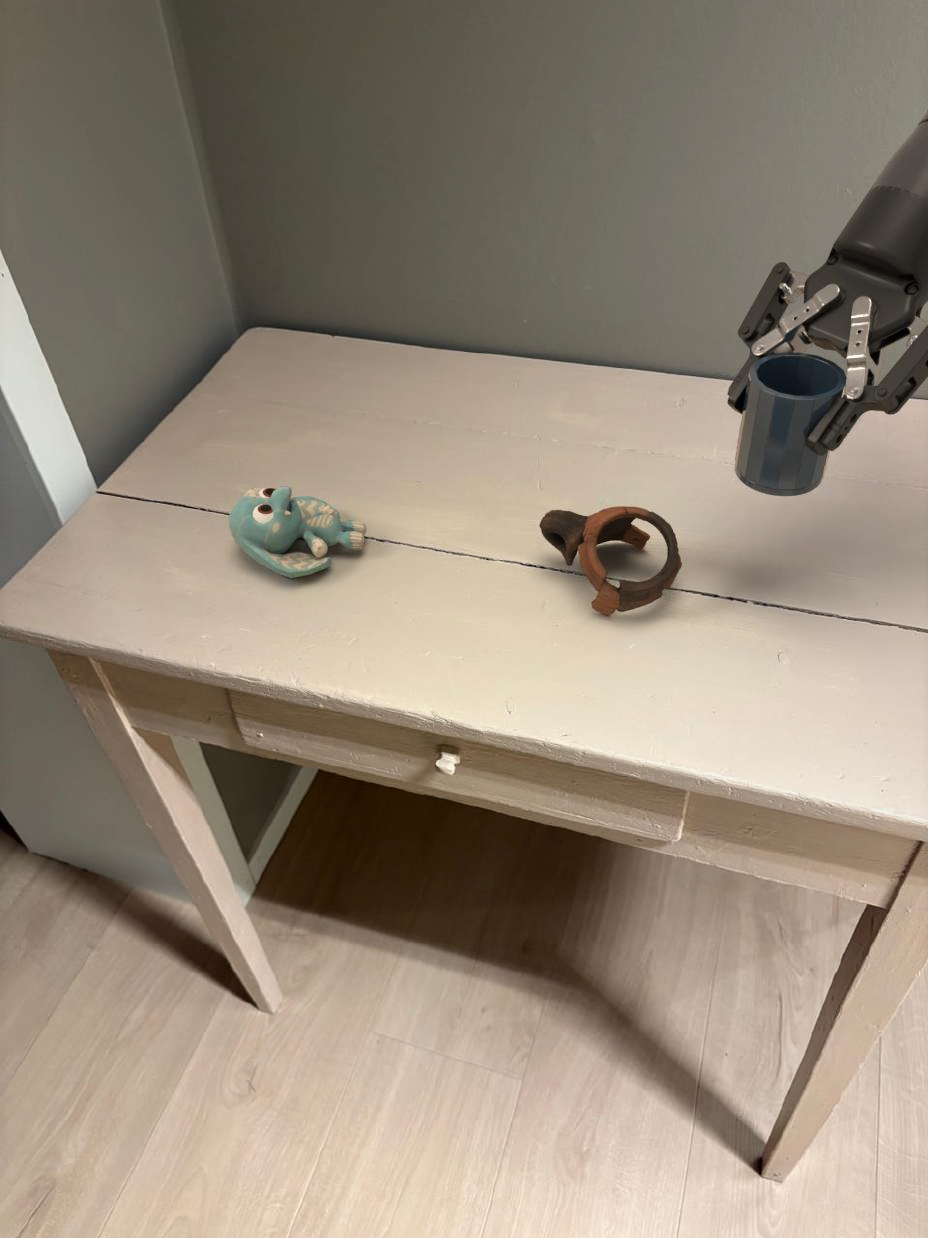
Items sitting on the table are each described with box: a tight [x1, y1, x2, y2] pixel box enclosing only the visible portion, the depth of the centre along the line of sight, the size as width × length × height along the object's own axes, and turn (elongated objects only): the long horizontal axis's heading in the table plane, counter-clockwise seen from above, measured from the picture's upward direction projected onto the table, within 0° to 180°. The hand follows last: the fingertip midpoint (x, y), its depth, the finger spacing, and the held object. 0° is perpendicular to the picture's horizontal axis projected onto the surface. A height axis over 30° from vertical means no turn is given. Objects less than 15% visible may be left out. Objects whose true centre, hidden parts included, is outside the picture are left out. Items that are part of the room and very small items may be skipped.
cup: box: [734, 352, 847, 497], centre depth 69 cm, size 6×6×8 cm
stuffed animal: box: [228, 485, 367, 579], centre depth 84 cm, size 11×7×12 cm
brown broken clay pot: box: [539, 505, 683, 616], centre depth 79 cm, size 12×10×8 cm
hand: (773, 428), depth 68 cm, fingers closed on cup, 6 cm apart
